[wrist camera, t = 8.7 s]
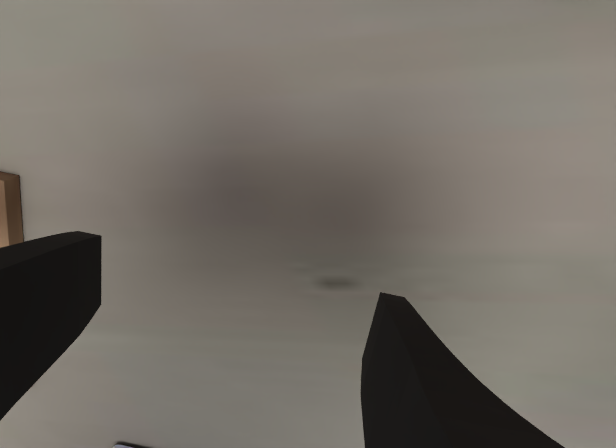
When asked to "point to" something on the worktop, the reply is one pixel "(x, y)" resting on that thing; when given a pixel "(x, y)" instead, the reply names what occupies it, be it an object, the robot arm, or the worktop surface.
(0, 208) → the pin board
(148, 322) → the worktop surface
